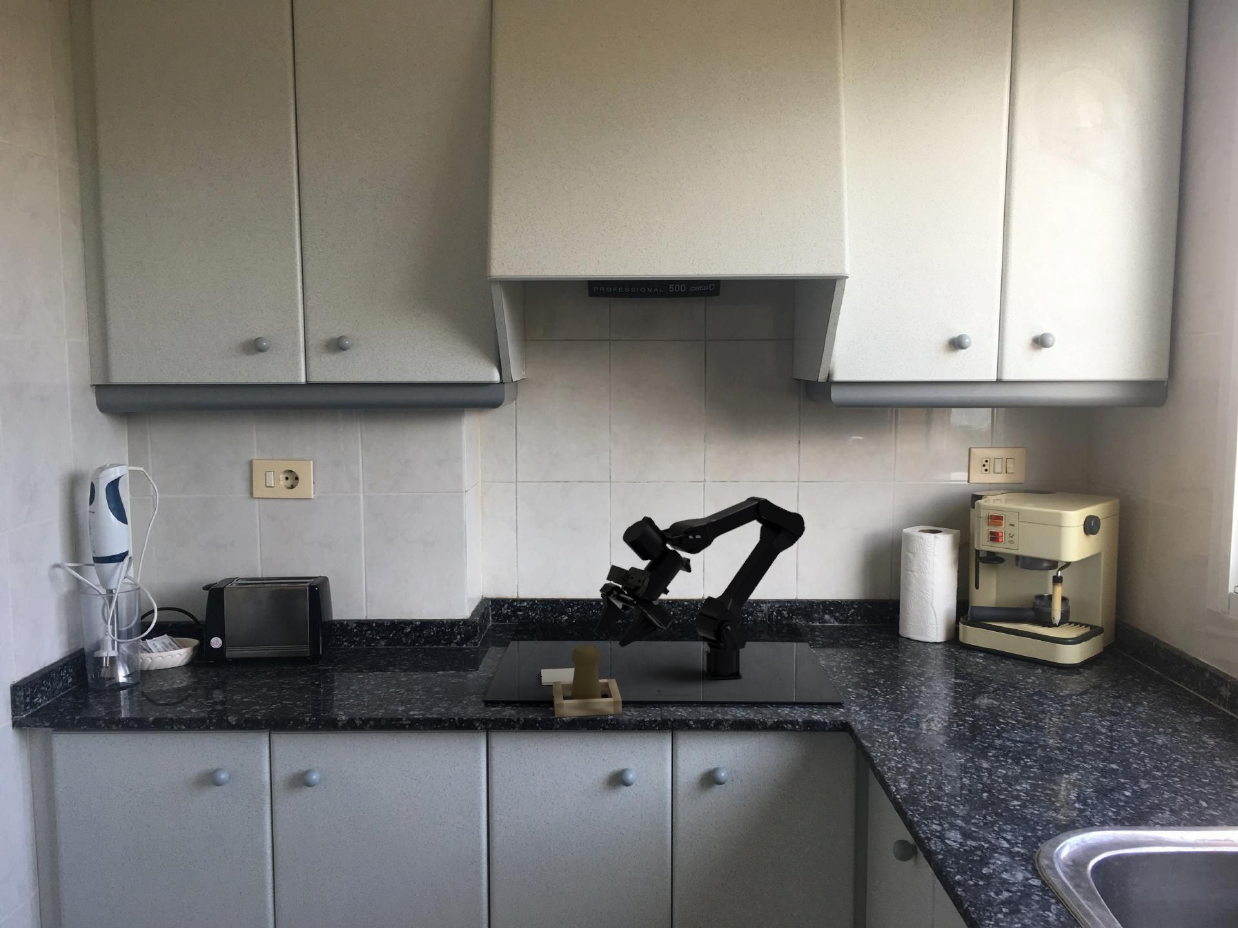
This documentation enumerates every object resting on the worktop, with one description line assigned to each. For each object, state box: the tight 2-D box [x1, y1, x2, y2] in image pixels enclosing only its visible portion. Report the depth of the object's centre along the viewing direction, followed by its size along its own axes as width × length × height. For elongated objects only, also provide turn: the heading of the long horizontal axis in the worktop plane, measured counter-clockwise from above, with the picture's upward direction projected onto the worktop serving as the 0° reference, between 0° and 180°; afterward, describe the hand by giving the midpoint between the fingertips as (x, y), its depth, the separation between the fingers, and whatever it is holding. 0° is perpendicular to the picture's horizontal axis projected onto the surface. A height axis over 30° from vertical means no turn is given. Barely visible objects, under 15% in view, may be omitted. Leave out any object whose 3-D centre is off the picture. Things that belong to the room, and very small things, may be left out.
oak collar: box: [552, 678, 623, 718], centre depth 168 cm, size 12×12×2 cm
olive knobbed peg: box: [570, 644, 602, 700], centre depth 168 cm, size 6×6×11 cm
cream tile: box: [540, 667, 575, 686], centre depth 183 cm, size 8×8×1 cm
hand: (608, 639), depth 170 cm, fingers open, 9 cm apart
